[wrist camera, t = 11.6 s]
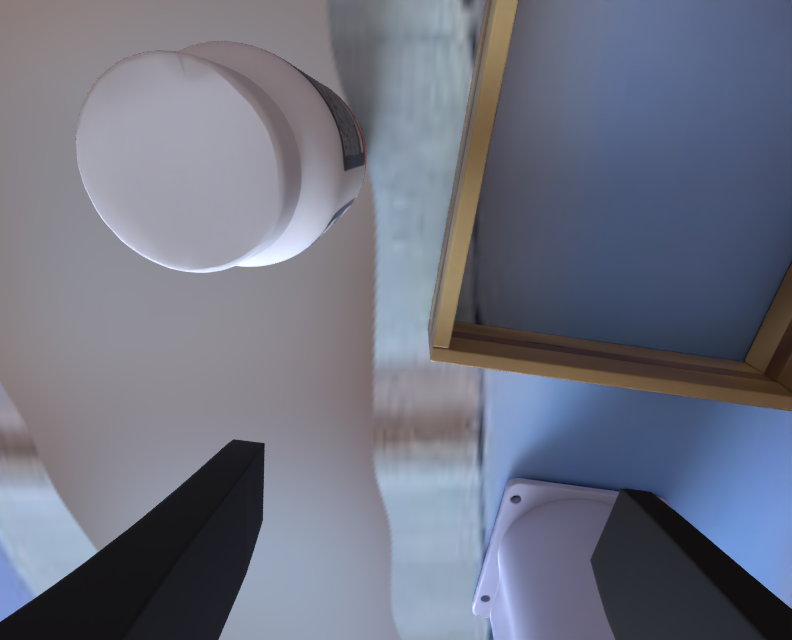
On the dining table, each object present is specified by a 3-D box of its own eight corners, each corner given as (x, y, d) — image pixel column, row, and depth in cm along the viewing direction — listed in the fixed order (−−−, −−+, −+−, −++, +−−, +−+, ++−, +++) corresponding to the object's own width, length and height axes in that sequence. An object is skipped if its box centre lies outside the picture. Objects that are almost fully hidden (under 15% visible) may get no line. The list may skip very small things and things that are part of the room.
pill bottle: (241, 57, 15) (38, -53, 7) (384, 106, 16) (352, 57, 7) (218, 205, 17) (35, 257, 9) (346, 246, 18) (286, 332, 9)
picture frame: (751, 375, 19) (809, 414, 16) (426, 330, 19) (429, 362, 16) (946, -20, 14) (1083, -63, 11) (500, -89, 14) (523, -151, 11)
